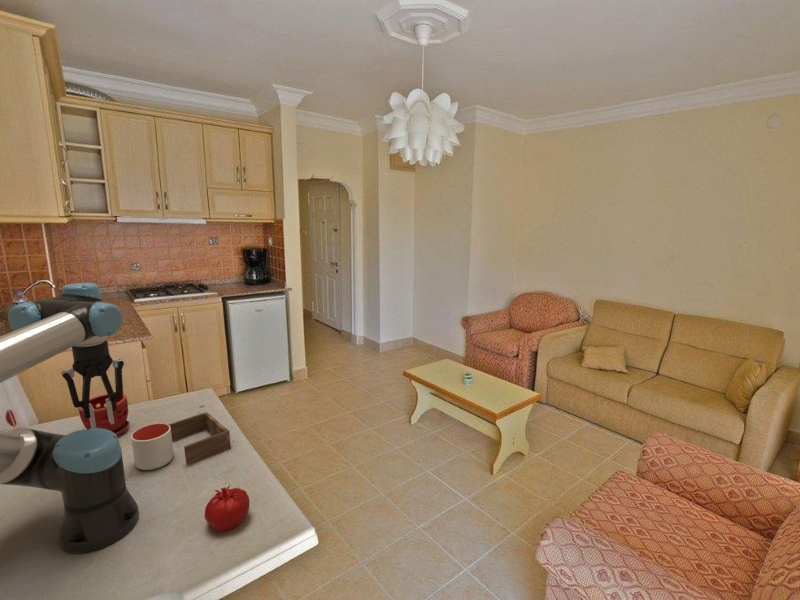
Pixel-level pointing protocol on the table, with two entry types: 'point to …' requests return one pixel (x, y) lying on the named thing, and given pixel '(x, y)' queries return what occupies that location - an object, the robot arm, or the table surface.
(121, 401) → the plant pot
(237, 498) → the pomegranate
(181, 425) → the box
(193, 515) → the table surface
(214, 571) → the table surface
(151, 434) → the cup
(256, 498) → the table surface
